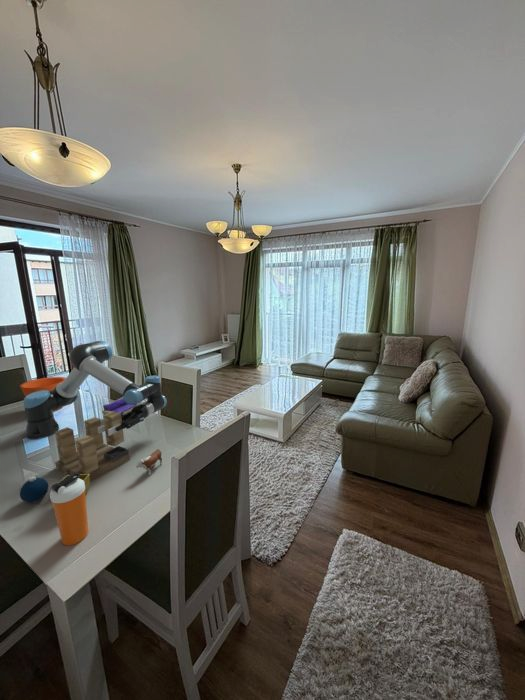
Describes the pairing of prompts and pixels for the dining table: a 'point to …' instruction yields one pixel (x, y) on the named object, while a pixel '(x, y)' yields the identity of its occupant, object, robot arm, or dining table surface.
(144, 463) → the bull figurine
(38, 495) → the christmas ornament
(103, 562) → the dining table surface
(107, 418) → the stool leg
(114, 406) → the toy sofa
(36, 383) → the flowerpot
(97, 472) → the tan post-studded fixture
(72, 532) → the shaker bottle
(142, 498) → the dining table surface
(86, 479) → the flower pot
